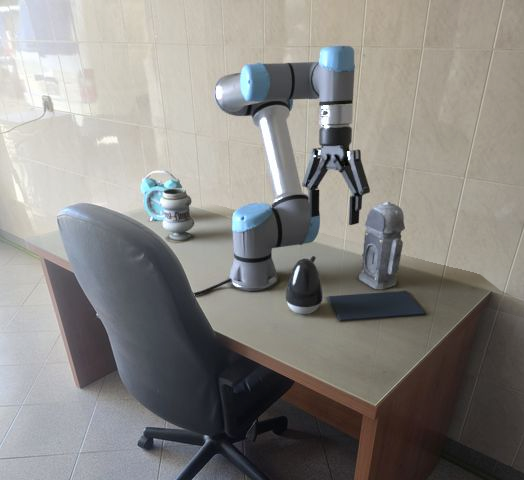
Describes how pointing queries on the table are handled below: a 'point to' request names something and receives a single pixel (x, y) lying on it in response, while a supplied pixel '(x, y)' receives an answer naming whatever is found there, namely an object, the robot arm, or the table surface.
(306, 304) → the black rounded piece
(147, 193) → the alarm clock
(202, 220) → the table surface
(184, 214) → the apothecary jar
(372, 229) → the figurine
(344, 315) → the desk mat
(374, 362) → the table surface
